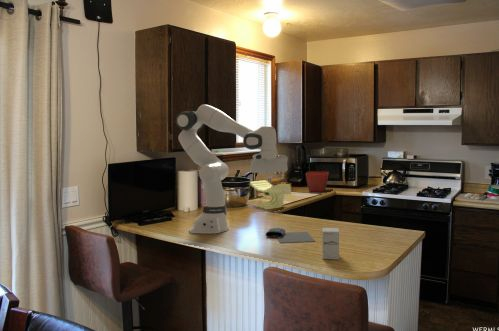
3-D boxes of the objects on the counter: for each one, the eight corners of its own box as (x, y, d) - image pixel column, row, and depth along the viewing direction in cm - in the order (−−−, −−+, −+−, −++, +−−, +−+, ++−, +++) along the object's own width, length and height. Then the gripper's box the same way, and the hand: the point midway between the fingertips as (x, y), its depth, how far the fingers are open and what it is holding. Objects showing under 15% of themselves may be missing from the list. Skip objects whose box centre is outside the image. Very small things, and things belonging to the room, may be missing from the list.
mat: (279, 243, 220) (279, 242, 220) (274, 233, 240) (274, 233, 240) (315, 241, 221) (315, 241, 221) (307, 232, 241) (307, 231, 241)
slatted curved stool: (291, 208, 312) (291, 183, 310) (272, 211, 303) (272, 185, 302) (268, 202, 337) (267, 179, 336) (250, 205, 329) (250, 181, 328)
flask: (282, 237, 230) (286, 232, 240) (282, 232, 230) (286, 227, 240) (265, 236, 232) (269, 232, 243) (265, 231, 232) (269, 226, 242)
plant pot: (328, 189, 396) (328, 171, 394) (327, 193, 377) (327, 173, 376) (307, 189, 400) (307, 171, 399) (305, 192, 382) (305, 173, 380)
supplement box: (322, 259, 191) (321, 231, 190) (322, 254, 199) (322, 227, 197) (339, 260, 190) (339, 231, 189) (338, 255, 197) (338, 227, 196)
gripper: (286, 154, 243) (287, 179, 244) (249, 155, 241) (250, 180, 242) (288, 155, 236) (289, 180, 238) (250, 156, 235) (251, 181, 236)
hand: (269, 180), depth 240 cm, fingers closed
